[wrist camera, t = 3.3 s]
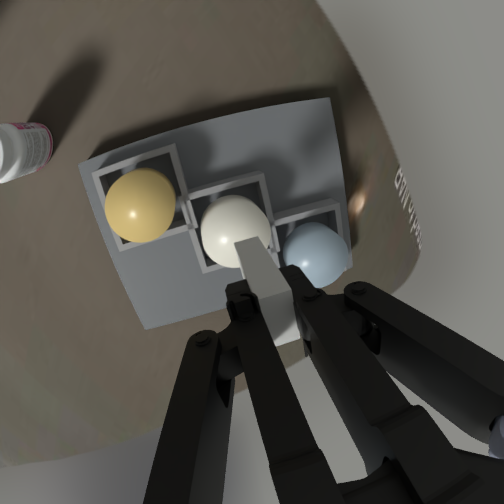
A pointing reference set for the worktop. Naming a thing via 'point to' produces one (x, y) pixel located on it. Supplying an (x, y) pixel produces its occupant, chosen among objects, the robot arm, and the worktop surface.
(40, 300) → the worktop surface
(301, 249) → the slate button
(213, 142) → the panel
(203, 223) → the ivory button
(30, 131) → the pill bottle
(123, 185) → the ochre button
